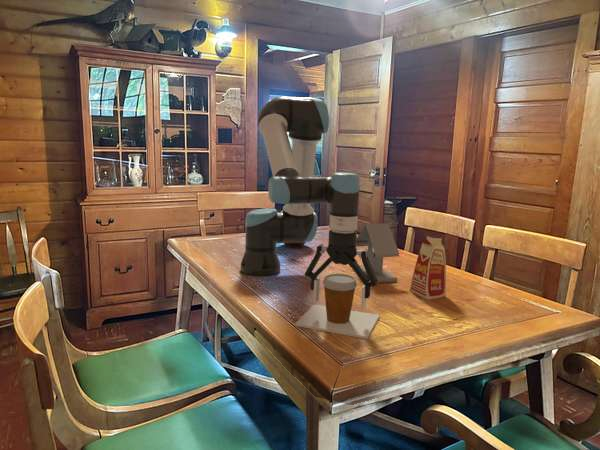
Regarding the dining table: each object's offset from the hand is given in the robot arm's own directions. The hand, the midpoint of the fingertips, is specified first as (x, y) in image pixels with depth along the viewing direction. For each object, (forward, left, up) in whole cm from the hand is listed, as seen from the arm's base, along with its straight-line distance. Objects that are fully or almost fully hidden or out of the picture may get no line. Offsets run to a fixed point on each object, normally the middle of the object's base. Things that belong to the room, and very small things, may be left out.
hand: (339, 304), depth 128 cm
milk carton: (+21, +36, -5) cm, 42 cm away
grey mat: (0, 0, -5) cm, 5 cm away
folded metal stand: (0, +48, -5) cm, 48 cm away
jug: (-44, +79, -5) cm, 91 cm away
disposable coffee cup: (0, 0, -4) cm, 4 cm away
